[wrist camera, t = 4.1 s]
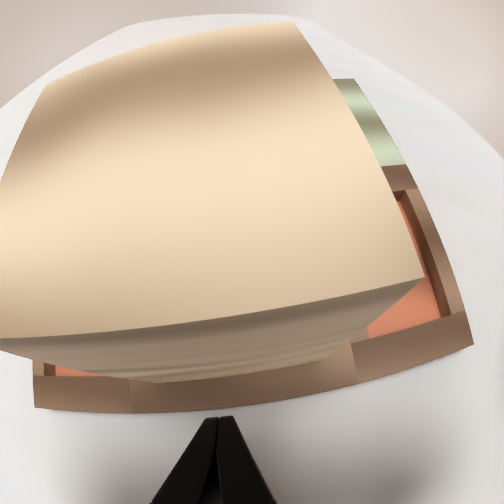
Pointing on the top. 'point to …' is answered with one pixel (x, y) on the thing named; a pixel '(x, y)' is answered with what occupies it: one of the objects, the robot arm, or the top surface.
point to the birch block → (197, 214)
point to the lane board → (315, 373)
